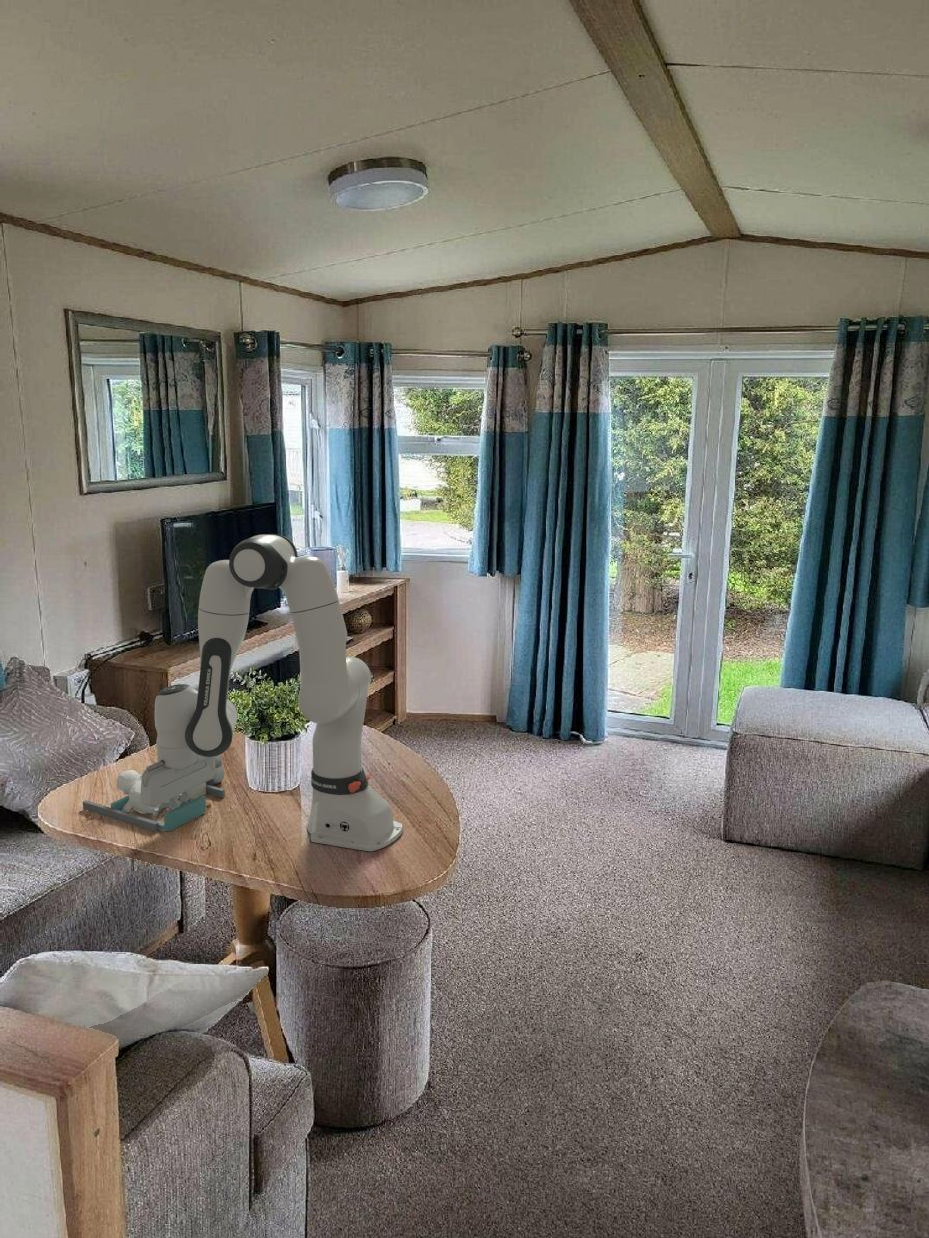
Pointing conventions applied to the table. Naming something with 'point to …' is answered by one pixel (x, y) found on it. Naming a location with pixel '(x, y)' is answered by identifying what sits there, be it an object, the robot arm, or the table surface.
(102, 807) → the lane rails
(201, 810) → the teal sled
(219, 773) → the plastic bottle
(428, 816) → the table surface
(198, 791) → the grey elongated piece
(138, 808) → the white animal figurine
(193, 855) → the table surface
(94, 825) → the table surface
